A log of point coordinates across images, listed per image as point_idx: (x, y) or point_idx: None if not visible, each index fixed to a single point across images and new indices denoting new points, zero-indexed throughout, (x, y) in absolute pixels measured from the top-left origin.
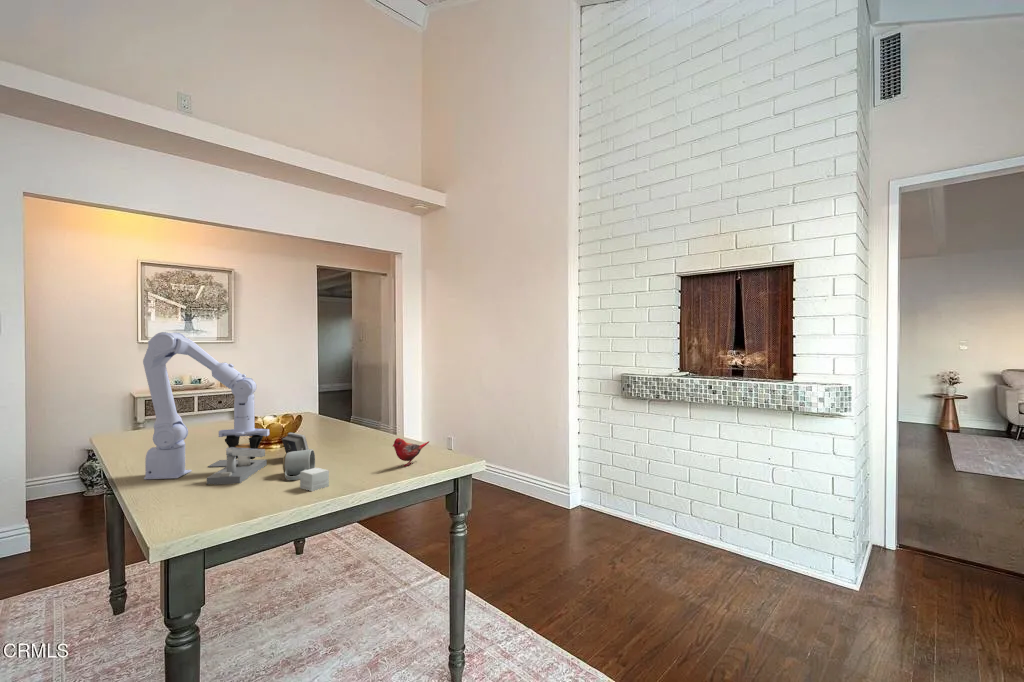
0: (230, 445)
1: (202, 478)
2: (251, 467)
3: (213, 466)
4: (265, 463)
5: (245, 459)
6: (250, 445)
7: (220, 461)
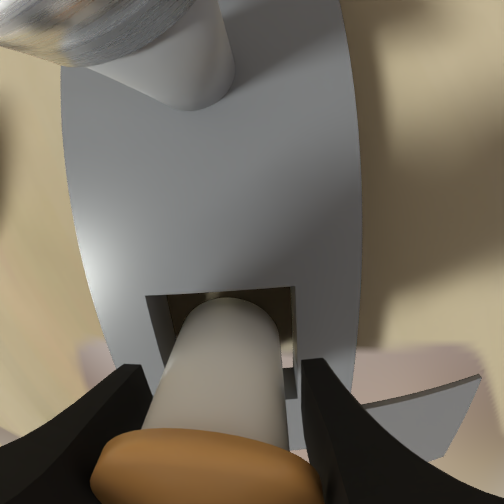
0: (397, 482)
1: (444, 131)
2: (99, 253)
3: (458, 383)
4: None
5: (179, 354)
6: (48, 464)
7: (438, 444)
